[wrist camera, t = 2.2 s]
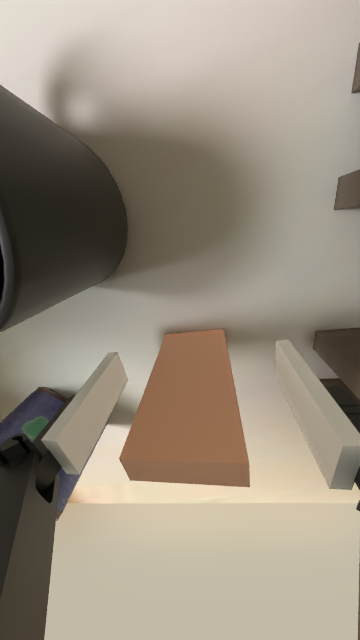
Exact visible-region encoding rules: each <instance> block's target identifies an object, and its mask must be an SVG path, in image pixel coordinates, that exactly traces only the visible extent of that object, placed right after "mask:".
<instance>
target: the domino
mask: <svg viewBox="0 0 360 640" xmlns="http://www.w3.org/2000/svg"><path fill="white" fill-rule="evenodd" d="M119 459H120V461H121V463H122V465H123V467H124V469H125V471H126V473H127V475H128V477H129V479H130V480H134V481H152V482H169V483H187V484H204V485H221V486H239V487H250V479H249V460H248V455H247V450H246V444H245V439H244V434H243V429H242V423H241V418H240V413H239V407H238V402H237V397H236V391H235V386H234V381H233V375H232V370H231V365H230V359H229V354H228V349H227V343H226V338H225V333H224V329H214V330H203V331H192V332H181V333H170V334H166V335H165V337H164V340H163V343H162V345H161V348H160V351H159V353H158V356H157V359H156V361H155V364H154V367H153V370H152V372H151V375H150V378H149V380H148V383H147V386H146V388H145V391H144V394H143V396H142V399H141V402H140V404H139V407H138V410H137V413H136V415H135V418H134V421H133V423H132V426H131V429H130V431H129V434H128V437H127V439H126V442H125V445H124V447H123V450H122V453H121V455H120V458H119Z"/></svg>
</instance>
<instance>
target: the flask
mask: <svg viewBox="0 0 360 640" xmlns="http://www.w3.org/2000/svg"><path fill="white" fill-rule="evenodd" d="M67 400H68V399H67V398H66V397H64V396H60V395H58V394H57V392H52V391H51V390H49V389H48V388H46V387H42V388H41V387H40V388H39V387H38V389H37V390H36V391H34V392H33V393H32V394H30V395H29V396H28V397H27V398H26V399H25V400H24V401H23V402H22V403H21V404H20V405H19V406H18V407H17V408H16V409H15V410H14V411H13V412H11V413H10V414H9V415H8V416H7V417H6V418H5V419H4V420H3V421H2V422H1V423H0V444H1V443H3V442H4V441H5V440H6V439H8V438H10V437H12V436H13V435H16V434H19V433H24V434H25V435H27V437H28V438H29V439H30V440H31V442H33V441H34V439H35V438H36V437H37V436H38V435H39V433H40V432H41V431H42V430H43V428H44V427H45V426H46V425H47V423H48V422H49V421H50V420H51V418H53V416H54V415H55V414H56V412H58V410H59V409H60V407H61V406H62V405H63V404H64V402H66V401H67ZM106 425H107V422H106V424H105V426H104V428H103V430H102V432H101V434H100V436H101V435H102V433H103V431H104V429H105V427H106ZM100 436H99V438H100ZM99 438H98V440H99ZM98 440H97V442H98ZM97 442H96V444H97ZM96 444H95V446H96ZM95 446H94V447H93V449H92V451H91V453H90V455H89V457H88V459H87V461H86V463H85V465H86V464H87V462H88V460H89V458H90V456H91V455H92V453H93V451H94V448H95ZM85 465H84V467H85ZM84 467H83V469H84ZM83 469H82V471H83ZM82 471H81V473H80V475H79V474H66V472H65V471H64V470H63V468H62V467H61V469H60V471H59V472H58V475H59V479H60V482H59V492H58V502H57V512H56V521H57V520H58V519H59V517H60V515H61V514H62V512H63V510H64V508H65V506H66V504H67V501H68V499H69V497H70V495H71V494H72V492H73V489H74V487H75V485H76V483H77V481H78V480H79V478H80V476H81V474H82Z"/></svg>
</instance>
